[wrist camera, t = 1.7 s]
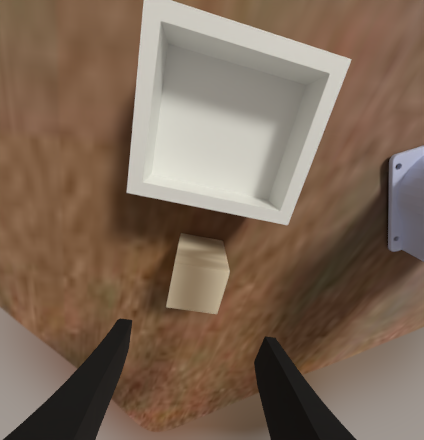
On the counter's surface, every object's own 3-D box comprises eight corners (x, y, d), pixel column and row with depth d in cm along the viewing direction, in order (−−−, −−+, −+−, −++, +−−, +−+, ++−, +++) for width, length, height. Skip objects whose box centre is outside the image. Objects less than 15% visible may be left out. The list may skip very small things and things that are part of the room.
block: (222, 240, 20) (229, 271, 15) (213, 275, 21) (216, 314, 17) (180, 232, 19) (174, 262, 15) (173, 269, 21) (165, 307, 16)
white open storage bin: (302, 84, 15) (351, 59, 10) (264, 201, 18) (287, 225, 13) (163, 43, 14) (144, -9, 9) (147, 176, 17) (126, 192, 12)
